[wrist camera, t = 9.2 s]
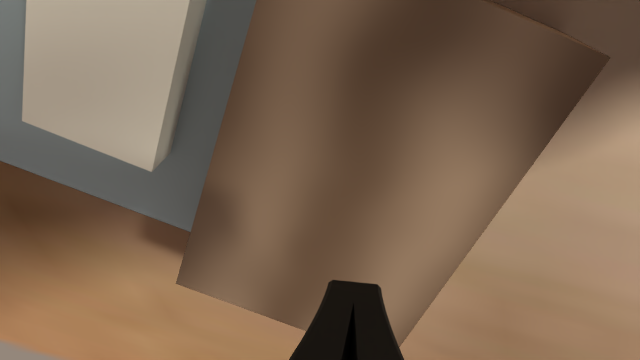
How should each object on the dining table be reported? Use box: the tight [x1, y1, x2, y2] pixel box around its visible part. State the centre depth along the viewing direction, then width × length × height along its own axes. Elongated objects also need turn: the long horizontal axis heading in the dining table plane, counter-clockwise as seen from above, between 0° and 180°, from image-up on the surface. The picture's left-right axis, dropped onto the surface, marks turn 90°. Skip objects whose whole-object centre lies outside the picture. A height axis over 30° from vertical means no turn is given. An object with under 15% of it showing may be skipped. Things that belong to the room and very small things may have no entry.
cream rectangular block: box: [22, 0, 207, 172], centre depth 18 cm, size 6×9×2 cm, turn 158°
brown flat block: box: [176, 0, 610, 347], centre depth 19 cm, size 11×16×4 cm
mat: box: [0, 0, 256, 232], centre depth 20 cm, size 14×16×1 cm
